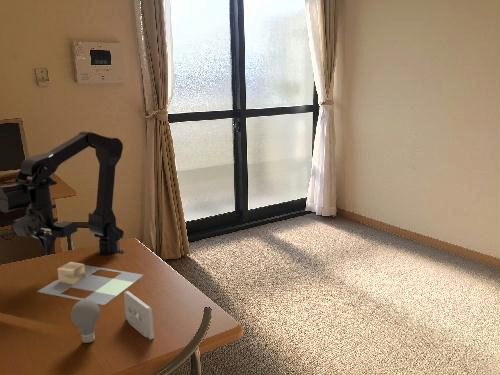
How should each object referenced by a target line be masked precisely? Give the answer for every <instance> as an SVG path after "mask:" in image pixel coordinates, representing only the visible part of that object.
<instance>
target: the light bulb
mask: <svg viewBox="0 0 500 375" xmlns="http://www.w3.org/2000/svg"><path fill="white" fill-rule="evenodd" d="M83 299H84V300H78V301H77V302H76V303H75V304H74V305H73V307H72V309H71V311H70V318H71V321H72V323H73V324H74V325H75V326H76V327H77V329H78V330H79V333H80V335H81V339H82V343H85V344H86V343H88V344H89V343H91V342H93V341H94V340H95V338H96V337H95V329H96V324H97V322H98V320H99V318H100V315H101V310H100V307H99V304H97V303H96V302H94V301H92V300H90V299H85V298H83Z"/></svg>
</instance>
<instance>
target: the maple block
mask: <svg viewBox="0 0 500 375" xmlns="http://www.w3.org/2000/svg"><path fill="white" fill-rule="evenodd" d="M84 265H85V263H80V262H75V261H69V262H67V263H66V264H63V265H62V266H60V267H59V268H57V277H58V279H59V282H63V283H68V284H75V283H76V282H78V281H80V280H81V279H83V278H84V277H86V276H85V267H84Z"/></svg>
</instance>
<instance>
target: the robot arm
mask: <svg viewBox="0 0 500 375" xmlns="http://www.w3.org/2000/svg"><path fill="white" fill-rule="evenodd" d="M89 147H90V148H92V149H94V150H95V156H96V159H97V162H98V163H99V166H98V168H99V169H98V178H97V179H98V182H97V192H96V207H95V209H94V210H93V212H89V213H88V215H87V216H88V221H87V224H86V225H87V226H88V229H89V232H91V234H93V235H94V237H95V238H99V239H98V250H99V251H98V252H99V255H100V256H101V255H102V256H109V255H111V254H119V255H121V254H124V252H125V251H124V250H121V248H120V247H121V246H120V239H122V238H124V230H123V229H121V228H119V227H118V226H117V217H116V215H115V213H114V210H113V203H114V202H113V201H114V192H115V191H114V189H115V178H116V176H115V175H116V166H117V164H118V162H119V161H120V159H121V158H122V155H123V150H124V149H123V148H124V144H123V142H122V141H121V139H119V137H110V136H104V135H100V134H98V133H95V132H93V131H85V130H83V131H79V133H78V134H76V135H75V136H73V137H71V138H70V139H68V140H67V141H65V142H63V143H61V144H60V145H58V146H56V147H54V148H53V149H51V150H49V151H47V152H43V153H40V154H36V155H32V156H29V157H26V158H25V159H24V160H23V161H22V162H21V165H20V170H19V171H18V173H17V175H16V177H15V178H14V180H13V183H12V184H9V185H1V186H0V211H1V212H3V213H8V212H12V211H16V210H20V209H23V208H24V209H25V208H26V209H25V215H24V216H22V217H20V218H16V219H15V220H13V221H12V222H11V223H10V224H11V225H10V226H11V231H12V232H15V233H16V235H17V236H19V237H25V238H30V237H32V238H34V239H35V240H36V241H37V242H38V244H39V245H40V248H41V250H42V251H43V253H44V254H45V255H46V256H49V255H51V253H52V250H53V247H54V245H55V242H56V240H57V238H59V239H61V238H62V239H63V238H66V237H67V236H70V235H72V234H75V233H77V232H78V226H77V225H78V224H77V223H75V221H67V220H63V221H60V222H59V223H56V222H58V221H59V219H58V217H55V216H54V215H55V214H54V209H56V208H57V205H56V204H55V203H53V200H52V192H51V186H52V187H53V186H56V185H57V184H58V182H57V181H56V180H54V179H52V177H51V176H53V174H54V173H56V172H57V170H58V168H59V166H60V165H62V164H64V163H65V162H67V161H68V160H69V159H71V158H73V157H74V156H76V155H78V154H79V153H81V152H83V151H84V150H86V149H87V148H89ZM28 206H29V207H28Z"/></svg>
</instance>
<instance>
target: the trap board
mask: <svg viewBox="0 0 500 375" xmlns="http://www.w3.org/2000/svg"><path fill="white" fill-rule="evenodd" d="M84 267H85V276H86V277H84V278H83V279H81V280H80V281H78V282H76V283H75V284H68V283H63V282H59V278H58V279H56V280H53V281H52V282H51V283H49V284H48V285H45V286H44V287H42V288H41V289H39V290H37V291H36V293H40V294H46V295H52V296H56V297H62V298H66V299H72V300H77V301H81V300H84V299H90V300H92V301H94V302H96V303H97V305H102V306H105V305H106V304H108V303H109V302H110V301H112V300H113V299H114V298H116V297H117V296H119V295H120V294H121V293H122V292H124V291H126V289H128V288H129V287H131V285H132V284H134V283H135V282H136V281H139V279H141V278H142V277H143V276H144V274H142V273H135V272H129V271H123V270H117V269H111V268H105V267H97V266H92V265H87V264H84ZM99 270H102V271H106V272H114V273H120V274H118V275H117V276H115V277H114V278H111V277H105V276H100V275H99V276H98V275H94V273H96V272H98V271H99ZM70 288H72V289H76V290H77V289H78V290H83V291H88V292H92V293H90V294H89V295H88V296H86V297H85V298H82V297H77V296H72V295H67V294H62V293H64V292H66V291H67V290H69V289H70Z"/></svg>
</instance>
